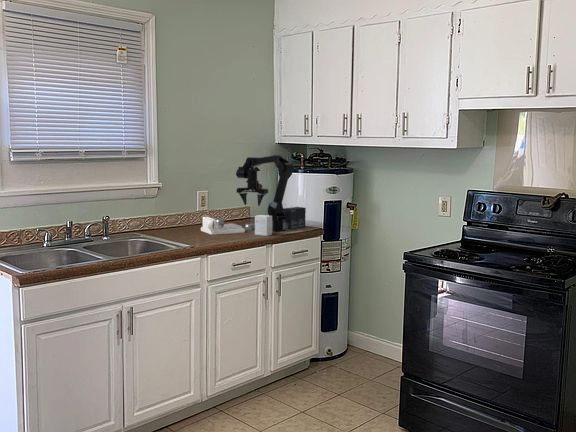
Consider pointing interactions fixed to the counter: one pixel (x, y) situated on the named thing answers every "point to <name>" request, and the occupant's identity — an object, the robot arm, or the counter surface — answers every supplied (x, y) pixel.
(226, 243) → the counter surface
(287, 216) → the small box
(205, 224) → the scale
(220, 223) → the spacer on pan
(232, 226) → the pan
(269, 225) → the small box
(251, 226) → the steel cup
